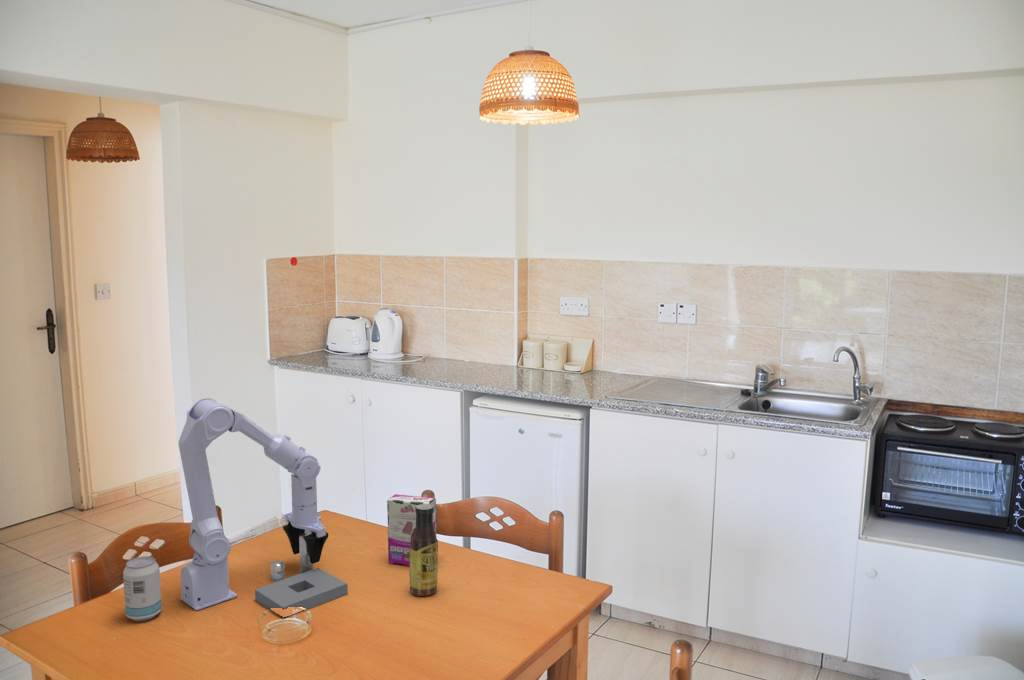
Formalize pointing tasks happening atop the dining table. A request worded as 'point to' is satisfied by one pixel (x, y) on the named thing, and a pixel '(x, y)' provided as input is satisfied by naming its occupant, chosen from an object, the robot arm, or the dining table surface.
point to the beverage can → (142, 588)
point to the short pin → (277, 571)
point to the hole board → (302, 590)
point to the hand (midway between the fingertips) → (306, 557)
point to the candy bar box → (403, 525)
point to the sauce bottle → (423, 553)
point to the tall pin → (304, 554)
